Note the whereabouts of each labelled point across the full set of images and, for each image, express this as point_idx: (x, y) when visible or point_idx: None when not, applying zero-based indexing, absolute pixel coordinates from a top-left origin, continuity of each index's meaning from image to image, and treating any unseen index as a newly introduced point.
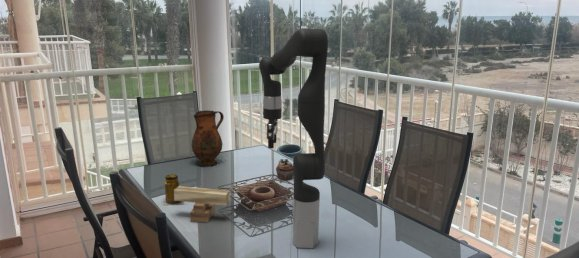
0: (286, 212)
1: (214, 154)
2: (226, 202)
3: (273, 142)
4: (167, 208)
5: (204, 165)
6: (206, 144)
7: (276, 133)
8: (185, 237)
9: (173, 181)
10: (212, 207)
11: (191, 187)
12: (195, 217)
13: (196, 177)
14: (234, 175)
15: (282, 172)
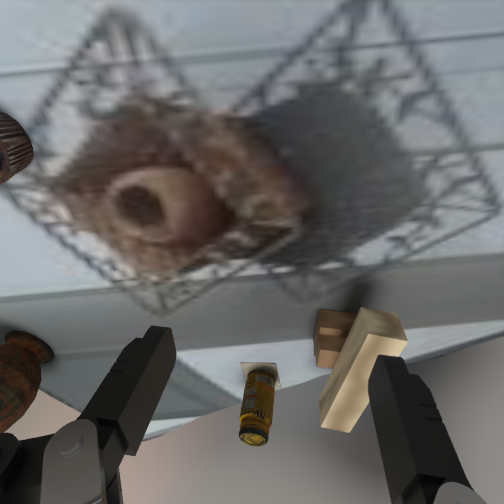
0: (322, 106)
1: (11, 360)
2: (396, 319)
3: (427, 425)
4: (297, 381)
5: (49, 352)
6: (4, 403)
7: (97, 434)
8: (454, 344)
9: (266, 426)
10: (337, 326)
11: (331, 408)
12: None
13: None
14: (69, 289)
15: (9, 157)
